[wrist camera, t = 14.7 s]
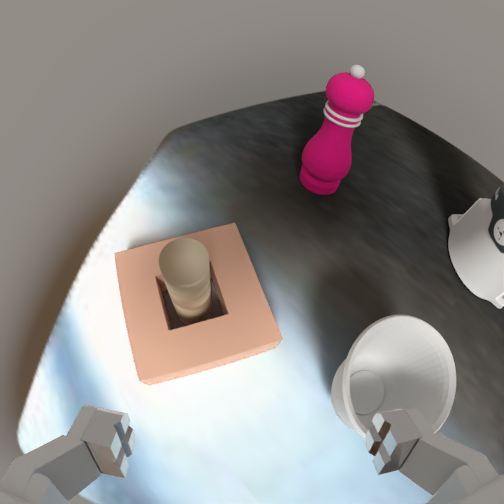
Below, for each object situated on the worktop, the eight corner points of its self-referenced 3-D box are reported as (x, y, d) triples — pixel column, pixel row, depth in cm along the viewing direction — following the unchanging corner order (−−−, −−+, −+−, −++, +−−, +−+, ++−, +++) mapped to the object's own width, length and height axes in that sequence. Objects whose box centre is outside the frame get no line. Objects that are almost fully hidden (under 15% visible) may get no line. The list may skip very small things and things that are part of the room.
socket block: (233, 241, 37) (235, 222, 34) (275, 347, 31) (282, 338, 28) (123, 270, 34) (114, 253, 30) (149, 385, 27) (139, 380, 24)
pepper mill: (288, 167, 45) (317, 50, 28) (327, 162, 47) (365, 56, 30) (308, 201, 42) (351, 77, 25) (348, 194, 44) (400, 83, 27)
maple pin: (206, 287, 34) (201, 232, 24) (216, 319, 32) (215, 274, 23) (172, 296, 33) (154, 244, 23) (181, 329, 31) (164, 288, 22)
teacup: (352, 483, 23) (400, 500, 15) (286, 377, 29) (315, 360, 21) (427, 419, 27) (484, 410, 19) (370, 325, 33) (415, 291, 25)
